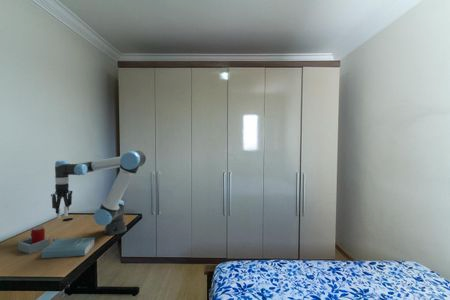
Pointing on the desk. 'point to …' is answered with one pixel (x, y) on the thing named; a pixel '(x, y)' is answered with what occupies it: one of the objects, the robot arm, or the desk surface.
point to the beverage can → (37, 234)
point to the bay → (33, 245)
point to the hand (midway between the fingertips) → (62, 216)
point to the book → (68, 247)
